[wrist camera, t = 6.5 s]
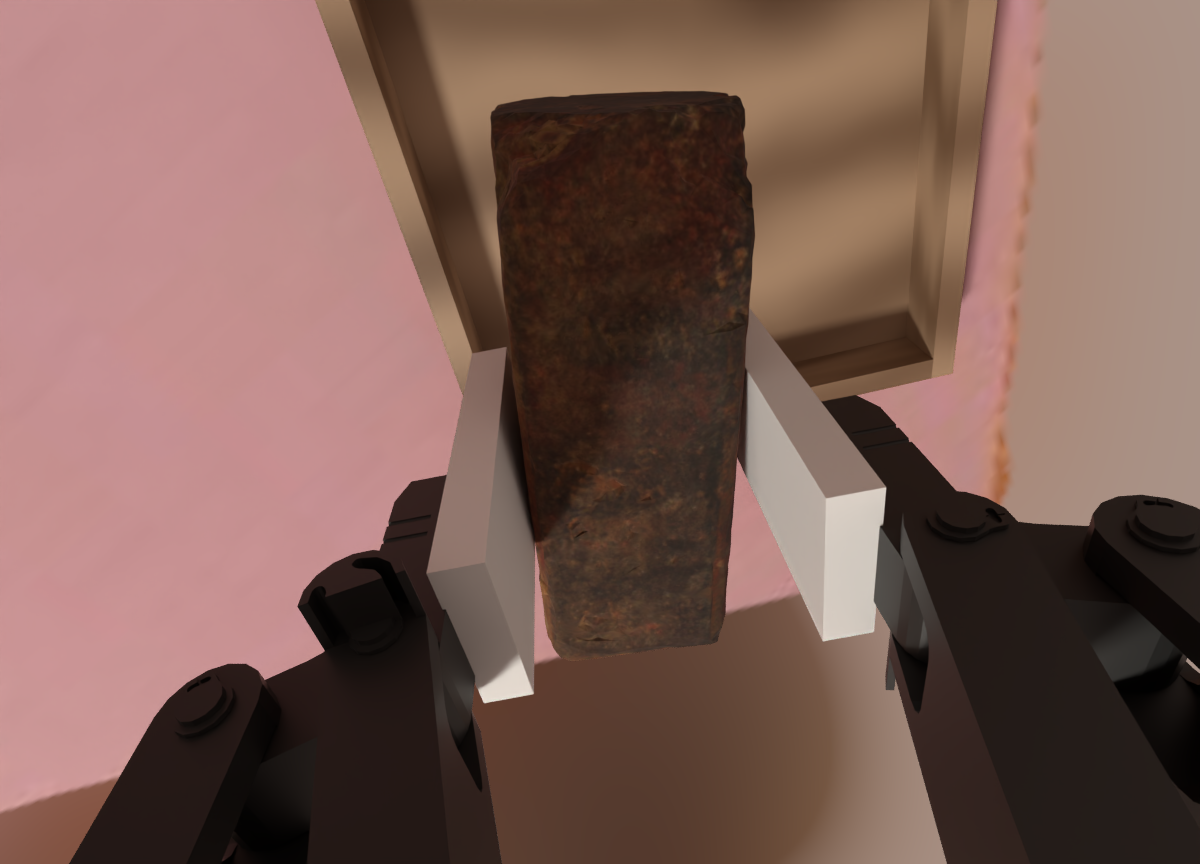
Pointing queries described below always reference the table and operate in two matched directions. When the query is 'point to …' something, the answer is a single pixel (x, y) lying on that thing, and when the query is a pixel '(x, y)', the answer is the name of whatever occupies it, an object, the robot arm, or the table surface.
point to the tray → (772, 149)
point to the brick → (627, 354)
